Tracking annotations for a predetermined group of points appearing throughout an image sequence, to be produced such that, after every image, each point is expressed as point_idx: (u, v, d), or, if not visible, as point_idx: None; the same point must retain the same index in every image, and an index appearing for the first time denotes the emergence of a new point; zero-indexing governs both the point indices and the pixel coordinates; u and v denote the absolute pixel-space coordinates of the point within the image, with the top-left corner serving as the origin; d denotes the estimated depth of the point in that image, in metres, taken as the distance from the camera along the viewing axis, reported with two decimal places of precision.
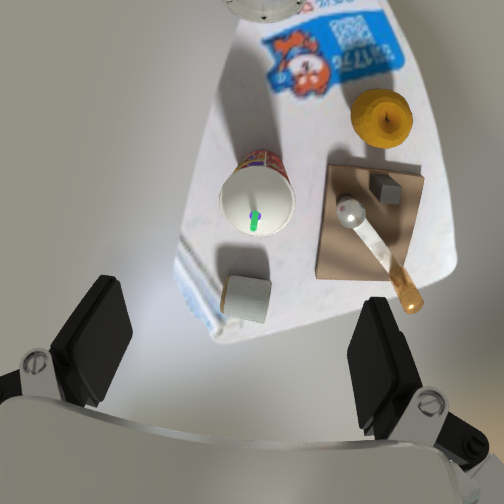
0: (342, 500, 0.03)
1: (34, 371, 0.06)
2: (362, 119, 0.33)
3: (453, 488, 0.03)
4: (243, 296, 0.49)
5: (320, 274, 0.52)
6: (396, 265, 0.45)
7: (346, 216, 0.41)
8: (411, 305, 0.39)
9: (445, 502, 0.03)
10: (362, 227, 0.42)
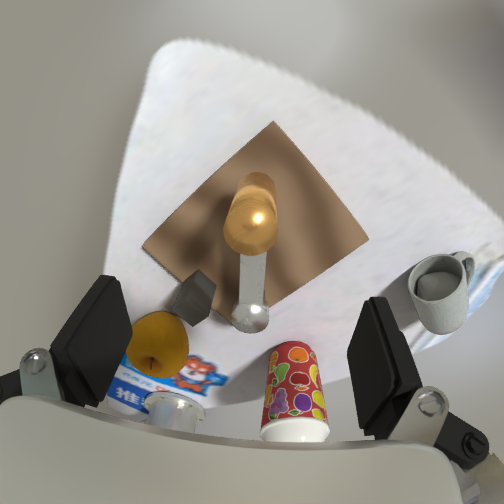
0: (342, 500, 0.03)
1: (34, 371, 0.06)
2: None
3: (453, 488, 0.03)
4: (433, 322, 0.31)
5: (358, 240, 0.32)
6: None
7: (256, 323, 0.32)
8: (254, 238, 0.18)
9: (445, 502, 0.03)
10: (251, 297, 0.31)
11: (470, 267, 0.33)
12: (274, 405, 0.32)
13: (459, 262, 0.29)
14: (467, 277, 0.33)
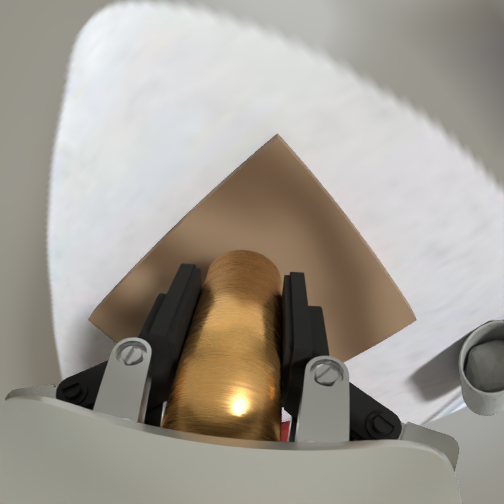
0: (342, 500, 0.03)
1: (126, 360, 0.07)
2: None
3: (453, 488, 0.03)
4: (481, 408, 0.19)
5: (402, 322, 0.20)
6: None
7: None
8: None
9: (445, 502, 0.03)
10: None
11: None
12: None
13: None
14: None
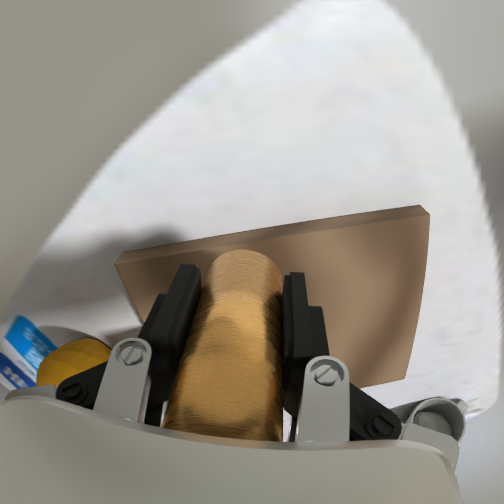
0: (342, 500, 0.03)
1: (126, 360, 0.07)
2: None
3: (453, 488, 0.03)
4: None
5: (395, 377, 0.23)
6: None
7: None
8: None
9: (445, 502, 0.03)
10: None
11: None
12: None
13: (463, 417, 0.24)
14: None
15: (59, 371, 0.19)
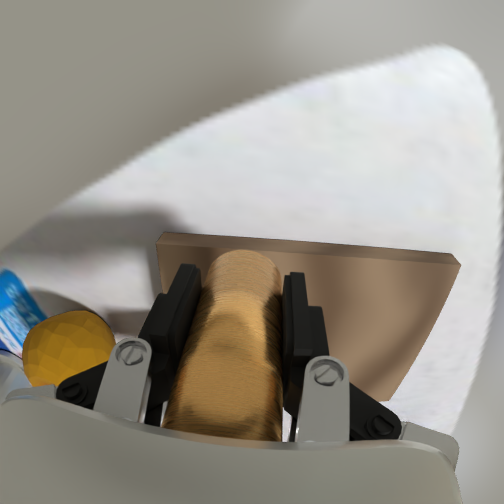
0: (342, 500, 0.03)
1: (126, 360, 0.07)
2: None
3: (453, 488, 0.03)
4: None
5: (382, 398, 0.25)
6: None
7: None
8: None
9: (445, 502, 0.03)
10: None
11: None
12: None
13: None
14: None
15: (57, 345, 0.17)
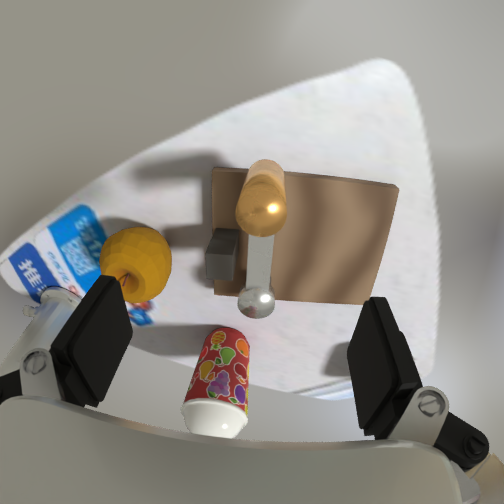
0: (342, 500, 0.03)
1: (34, 371, 0.06)
2: (135, 302, 0.32)
3: (453, 488, 0.03)
4: None
5: (361, 301, 0.37)
6: None
7: (262, 308, 0.33)
8: (264, 220, 0.19)
9: (445, 502, 0.03)
10: (257, 282, 0.31)
11: None
12: (215, 384, 0.33)
13: None
14: None
15: (135, 240, 0.30)
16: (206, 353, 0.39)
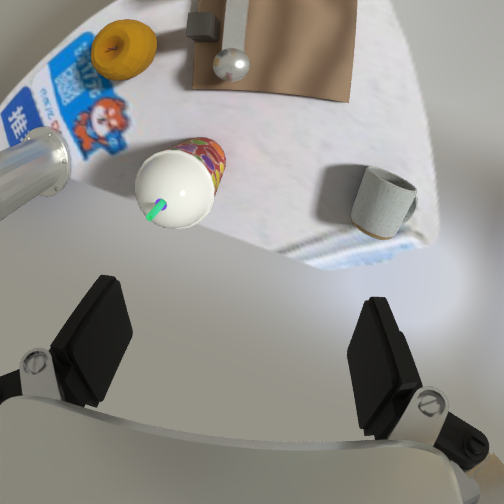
0: (342, 500, 0.03)
1: (34, 371, 0.06)
2: (114, 74, 0.28)
3: (453, 488, 0.03)
4: (370, 208, 0.36)
5: (341, 96, 0.33)
6: None
7: (237, 68, 0.29)
8: None
9: (445, 502, 0.03)
10: (233, 42, 0.27)
11: (408, 213, 0.41)
12: (180, 147, 0.29)
13: (413, 186, 0.36)
14: None
15: (129, 20, 0.26)
16: None
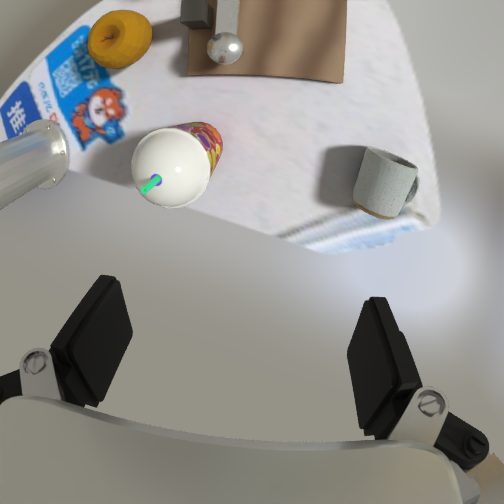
0: (342, 500, 0.03)
1: (34, 371, 0.06)
2: (111, 61, 0.28)
3: (453, 488, 0.03)
4: (372, 187, 0.35)
5: (335, 77, 0.33)
6: None
7: (230, 50, 0.28)
8: None
9: (445, 502, 0.03)
10: (226, 26, 0.27)
11: (411, 194, 0.40)
12: None
13: (414, 165, 0.35)
14: None
15: (124, 10, 0.25)
16: None
